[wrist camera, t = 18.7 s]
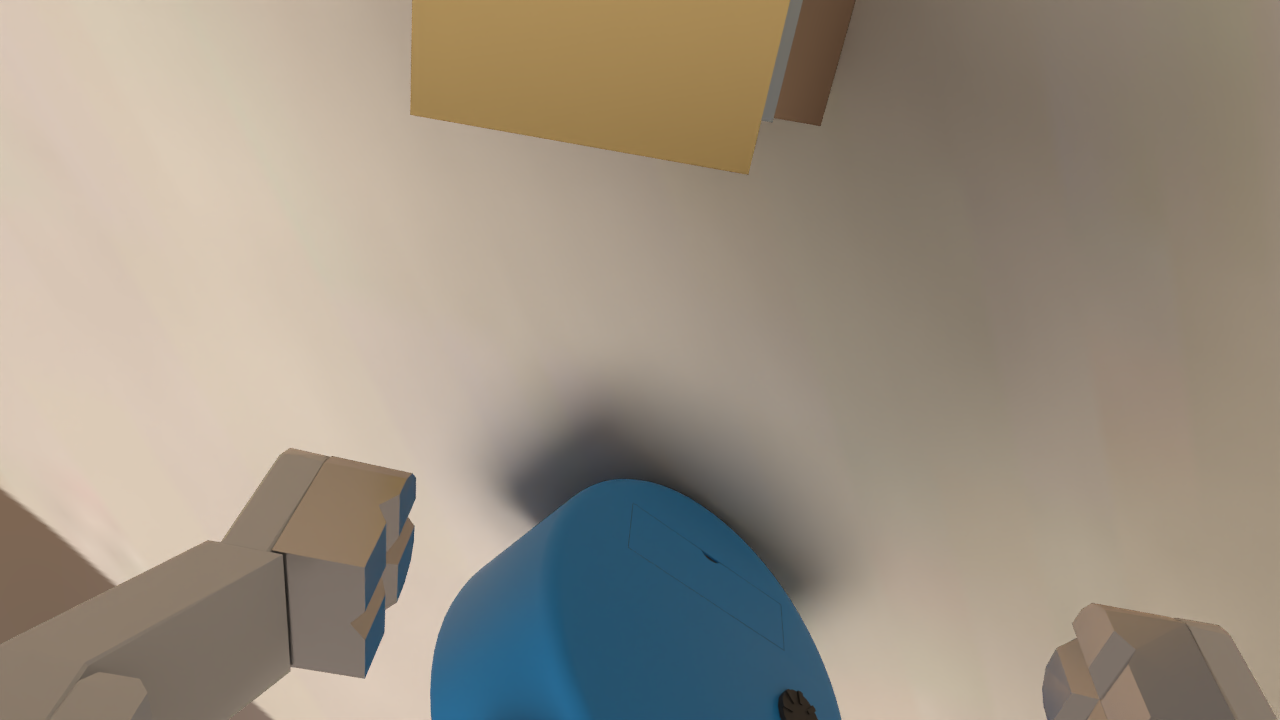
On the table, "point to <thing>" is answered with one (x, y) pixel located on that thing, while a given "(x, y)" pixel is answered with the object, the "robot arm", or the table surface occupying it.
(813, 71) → the walnut base
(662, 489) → the alarm clock
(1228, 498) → the table surface
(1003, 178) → the table surface
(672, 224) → the table surface
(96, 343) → the table surface
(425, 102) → the mustard cube
